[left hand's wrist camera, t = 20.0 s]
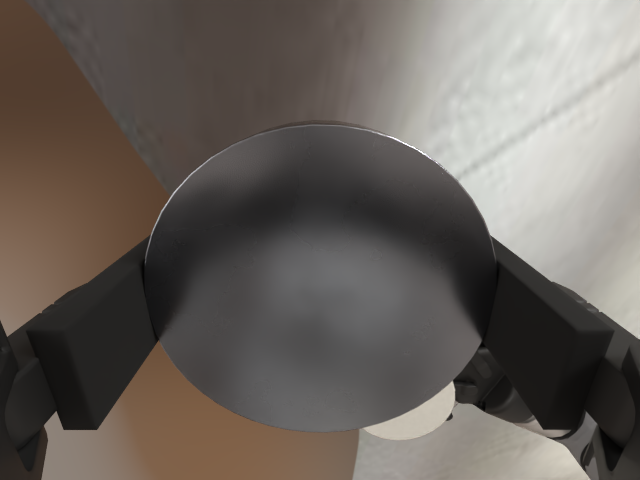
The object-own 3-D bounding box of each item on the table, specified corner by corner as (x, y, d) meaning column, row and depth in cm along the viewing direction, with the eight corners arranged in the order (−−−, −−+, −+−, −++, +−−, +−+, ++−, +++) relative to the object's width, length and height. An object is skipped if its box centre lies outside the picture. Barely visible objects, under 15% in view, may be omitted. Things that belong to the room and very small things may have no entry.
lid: (137, 324, 13) (102, 365, 11) (243, 51, 9) (222, 37, 7) (370, 417, 14) (378, 468, 12) (529, 215, 11) (576, 239, 9)
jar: (418, 320, 43) (468, 428, 29) (350, 339, 45) (364, 453, 30) (400, 258, 40) (446, 342, 26) (328, 280, 42) (330, 374, 27)
